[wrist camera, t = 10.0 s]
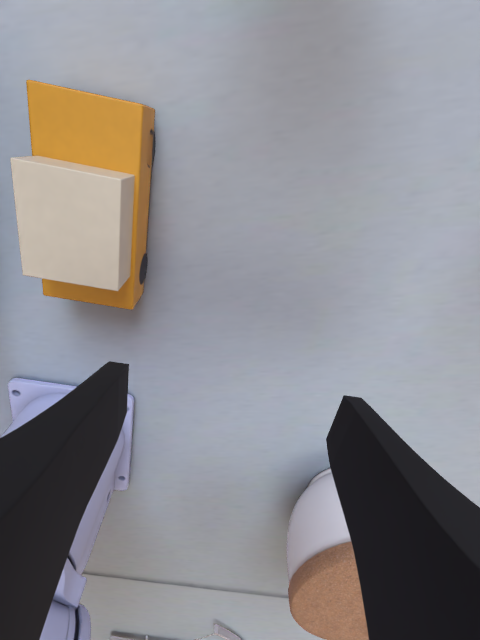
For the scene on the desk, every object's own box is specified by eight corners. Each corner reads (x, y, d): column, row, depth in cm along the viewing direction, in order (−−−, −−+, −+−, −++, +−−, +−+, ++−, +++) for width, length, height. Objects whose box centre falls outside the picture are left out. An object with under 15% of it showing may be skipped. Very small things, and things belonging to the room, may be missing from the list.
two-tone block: (145, 290, 20) (121, 328, 16) (66, 276, 19) (21, 312, 15) (158, 109, 16) (129, 99, 12) (58, 88, 15) (-6, 69, 11)
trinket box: (437, 457, 26) (530, 606, 18) (376, 539, 31) (426, 686, 23) (304, 430, 25) (337, 577, 16) (261, 520, 30) (269, 668, 21)
